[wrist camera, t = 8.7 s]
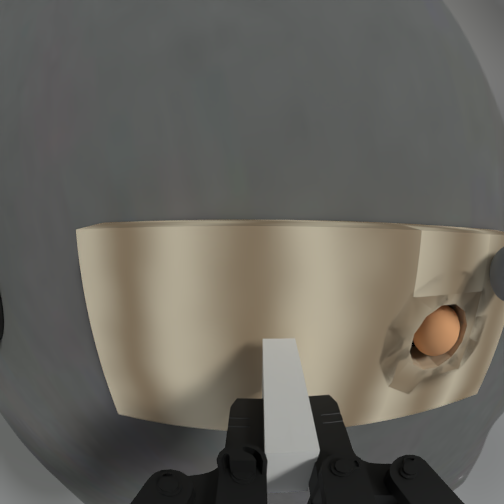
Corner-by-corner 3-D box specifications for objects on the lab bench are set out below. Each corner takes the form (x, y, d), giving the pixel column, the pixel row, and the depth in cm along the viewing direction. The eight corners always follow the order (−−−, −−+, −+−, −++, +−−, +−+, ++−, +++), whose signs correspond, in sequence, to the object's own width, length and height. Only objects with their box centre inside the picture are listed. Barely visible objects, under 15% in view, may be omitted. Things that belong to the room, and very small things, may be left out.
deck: (132, 390, 18) (118, 414, 16) (103, 222, 16) (76, 229, 13) (460, 375, 18) (476, 393, 15) (496, 230, 15) (521, 236, 12)
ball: (444, 370, 12) (459, 349, 14) (456, 317, 12) (468, 302, 14) (399, 356, 15) (420, 338, 17) (407, 306, 15) (426, 294, 17)
